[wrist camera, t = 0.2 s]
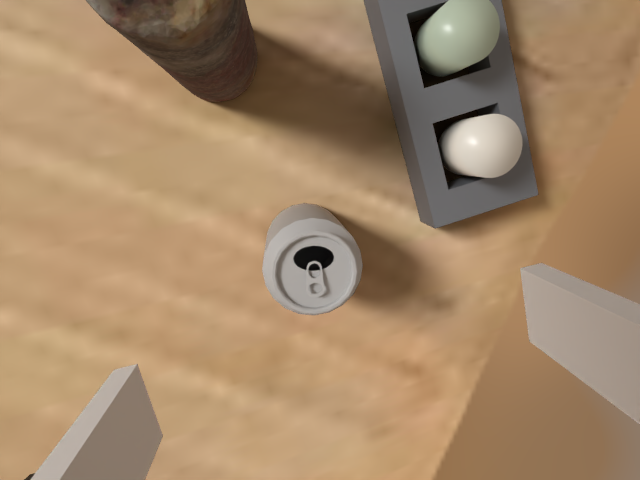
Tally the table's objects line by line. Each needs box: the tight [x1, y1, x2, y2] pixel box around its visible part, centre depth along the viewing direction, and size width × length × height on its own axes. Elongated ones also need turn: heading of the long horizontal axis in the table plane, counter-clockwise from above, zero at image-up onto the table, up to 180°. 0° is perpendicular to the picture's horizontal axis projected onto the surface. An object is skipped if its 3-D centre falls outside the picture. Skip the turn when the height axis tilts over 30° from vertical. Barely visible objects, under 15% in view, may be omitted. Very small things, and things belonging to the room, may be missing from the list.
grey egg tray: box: [364, 0, 538, 228], centre depth 37 cm, size 30×10×4 cm, turn 17°
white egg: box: [438, 114, 522, 178], centre depth 36 cm, size 5×5×5 cm
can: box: [262, 203, 363, 315], centre depth 35 cm, size 8×8×12 cm
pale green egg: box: [414, 0, 500, 77], centre depth 34 cm, size 5×5×5 cm
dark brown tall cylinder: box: [86, 0, 257, 102], centre depth 27 cm, size 8×7×20 cm
